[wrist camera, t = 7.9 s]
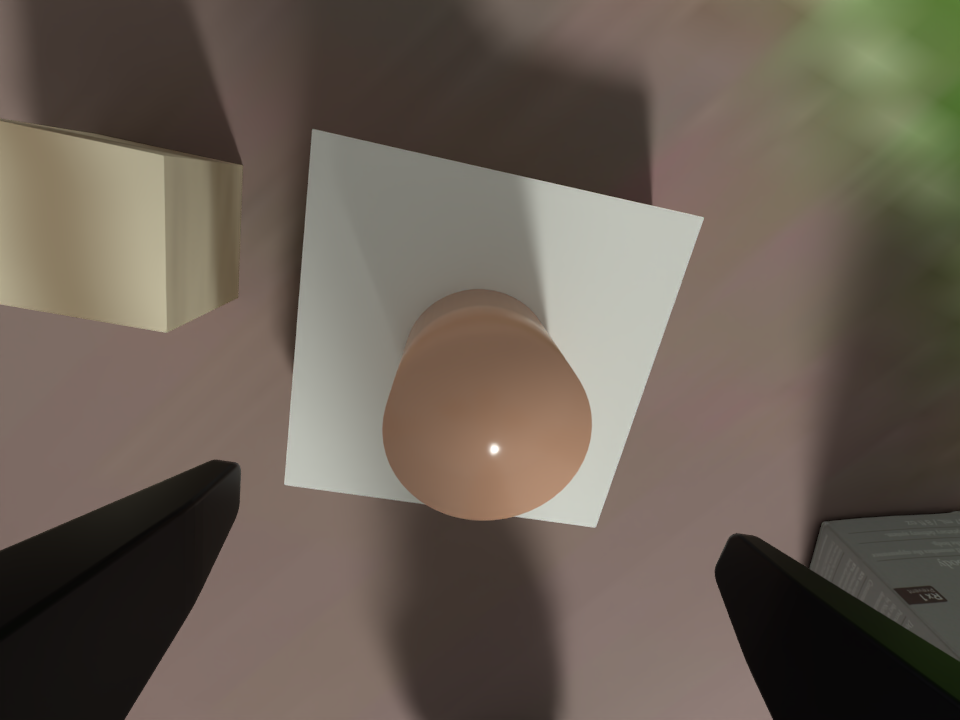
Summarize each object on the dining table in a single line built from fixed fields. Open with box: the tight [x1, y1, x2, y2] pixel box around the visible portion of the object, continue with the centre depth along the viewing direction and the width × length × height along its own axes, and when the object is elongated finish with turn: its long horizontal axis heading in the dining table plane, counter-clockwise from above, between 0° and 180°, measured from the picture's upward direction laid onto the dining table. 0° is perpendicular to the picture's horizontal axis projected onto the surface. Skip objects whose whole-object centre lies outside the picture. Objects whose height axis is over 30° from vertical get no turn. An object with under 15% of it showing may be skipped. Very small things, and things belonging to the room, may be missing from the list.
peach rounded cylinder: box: [382, 289, 592, 521], centre depth 13 cm, size 5×5×5 cm
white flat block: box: [284, 129, 704, 528], centre depth 18 cm, size 12×12×4 cm
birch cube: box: [0, 119, 243, 333], centre depth 15 cm, size 5×5×5 cm
